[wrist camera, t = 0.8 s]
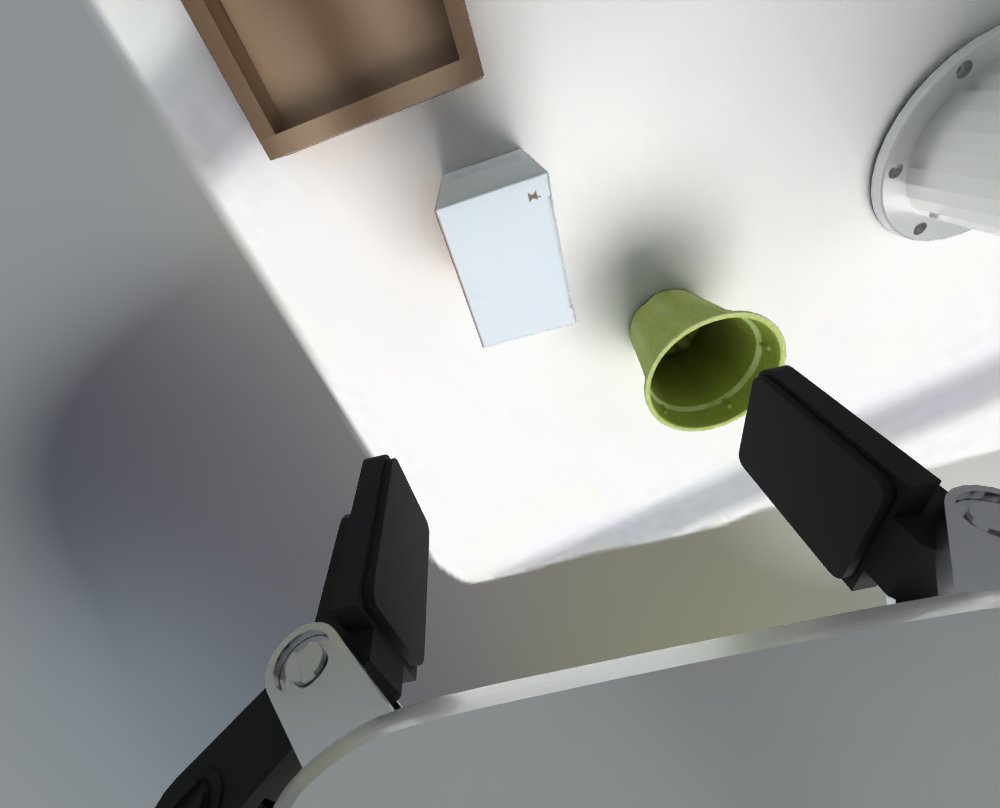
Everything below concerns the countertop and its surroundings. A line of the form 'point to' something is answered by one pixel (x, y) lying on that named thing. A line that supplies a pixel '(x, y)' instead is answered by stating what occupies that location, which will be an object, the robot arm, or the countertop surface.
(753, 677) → the robot arm
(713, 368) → the plant pot
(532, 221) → the small box
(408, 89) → the walnut tray
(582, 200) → the countertop surface
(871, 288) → the countertop surface
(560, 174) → the countertop surface
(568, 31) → the countertop surface
